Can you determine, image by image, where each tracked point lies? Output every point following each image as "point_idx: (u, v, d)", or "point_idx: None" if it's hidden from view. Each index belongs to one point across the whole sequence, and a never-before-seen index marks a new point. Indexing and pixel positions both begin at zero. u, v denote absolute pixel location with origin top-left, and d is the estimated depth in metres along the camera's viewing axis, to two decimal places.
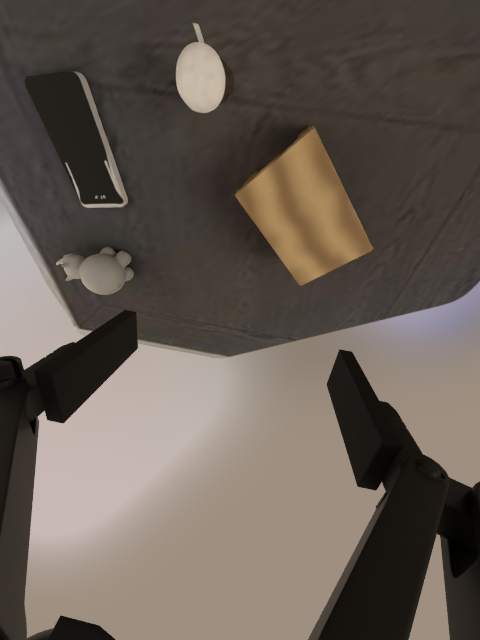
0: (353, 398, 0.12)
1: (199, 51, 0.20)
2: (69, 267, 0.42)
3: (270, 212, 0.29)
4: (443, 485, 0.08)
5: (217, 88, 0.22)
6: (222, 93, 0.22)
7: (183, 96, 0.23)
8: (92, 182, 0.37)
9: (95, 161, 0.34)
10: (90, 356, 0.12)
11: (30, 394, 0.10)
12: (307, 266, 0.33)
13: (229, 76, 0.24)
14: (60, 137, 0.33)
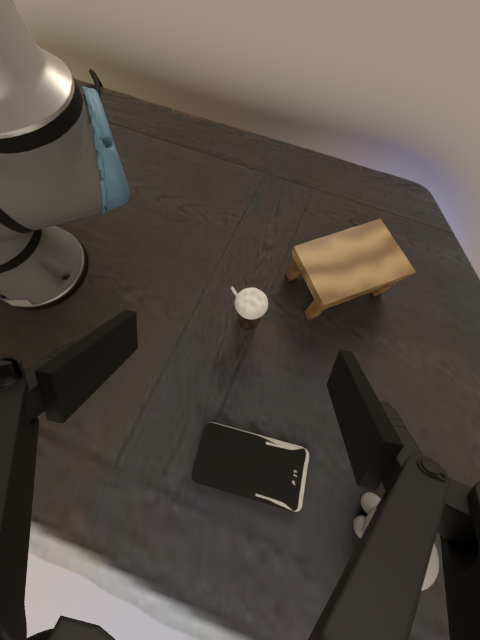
0: (353, 398, 0.12)
1: (240, 295, 0.33)
2: None
3: (341, 282, 0.35)
4: (443, 485, 0.08)
5: (259, 291, 0.33)
6: None
7: (256, 314, 0.32)
8: (279, 475, 0.33)
9: (263, 454, 0.34)
10: (90, 356, 0.12)
11: (30, 394, 0.10)
12: (393, 263, 0.36)
13: None
14: (236, 480, 0.33)
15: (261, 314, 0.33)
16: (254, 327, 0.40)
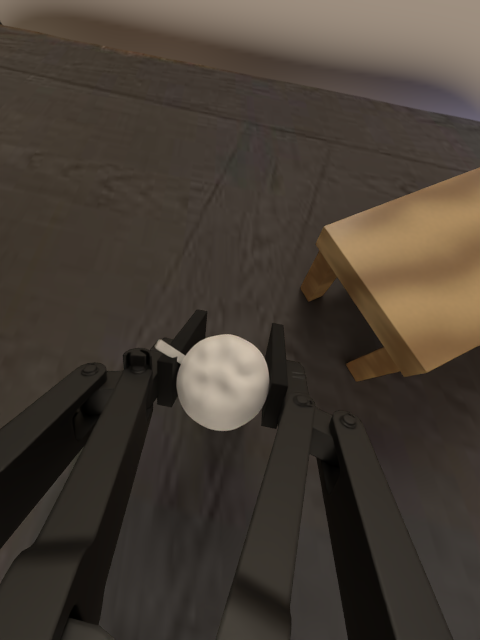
0: (270, 358, 0.14)
1: (190, 362, 0.12)
2: None
3: (456, 305, 0.14)
4: (311, 409, 0.10)
5: (243, 345, 0.12)
6: None
7: (235, 419, 0.11)
8: None
9: None
10: (186, 349, 0.13)
11: (152, 385, 0.11)
12: None
13: None
14: None
15: (252, 415, 0.11)
16: None
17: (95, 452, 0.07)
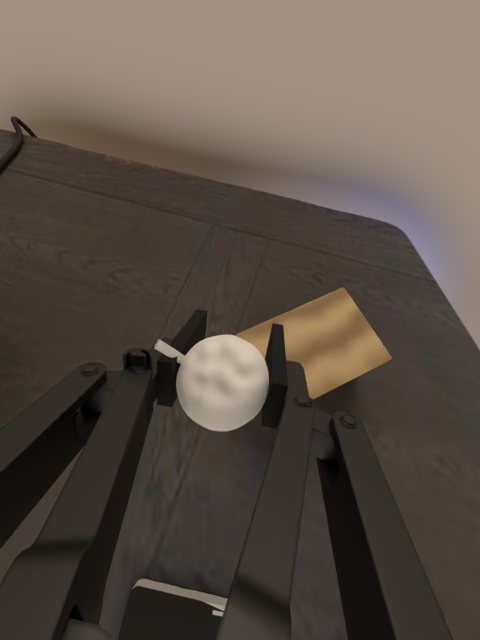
0: (270, 358, 0.14)
1: (189, 362, 0.12)
2: None
3: None
4: (311, 409, 0.10)
5: (242, 346, 0.12)
6: (250, 344, 0.12)
7: (234, 419, 0.11)
8: None
9: (209, 632, 0.24)
10: (186, 349, 0.13)
11: (152, 385, 0.11)
12: (363, 348, 0.28)
13: None
14: None
15: (251, 415, 0.11)
16: None
17: (95, 452, 0.07)
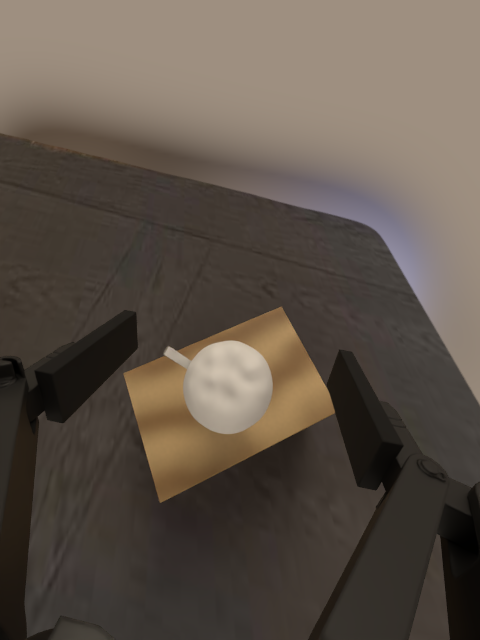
0: (353, 398, 0.12)
1: (196, 368, 0.12)
2: None
3: (200, 444, 0.19)
4: (443, 485, 0.08)
5: (247, 352, 0.12)
6: (255, 350, 0.13)
7: (240, 423, 0.11)
8: None
9: None
10: (90, 356, 0.12)
11: (30, 394, 0.10)
12: (299, 394, 0.20)
13: None
14: None
15: (256, 419, 0.12)
16: None
17: None
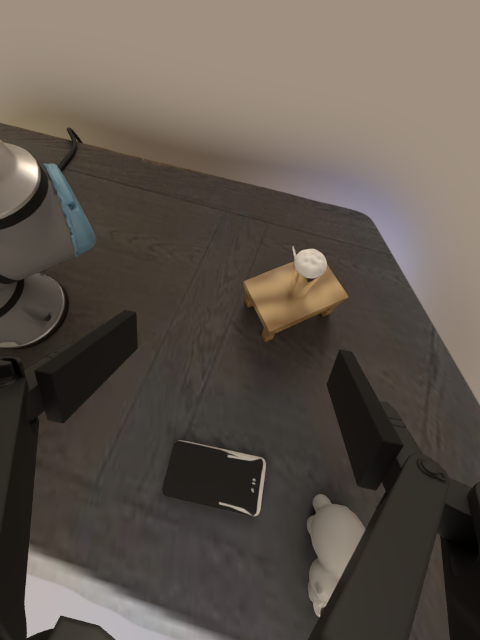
0: (353, 398, 0.12)
1: (299, 256, 0.34)
2: (323, 584, 0.29)
3: (284, 310, 0.40)
4: (443, 485, 0.08)
5: (317, 251, 0.34)
6: (319, 252, 0.34)
7: (317, 272, 0.33)
8: (240, 484, 0.37)
9: (225, 466, 0.38)
10: (90, 356, 0.12)
11: (30, 394, 0.10)
12: (329, 290, 0.42)
13: None
14: (201, 491, 0.37)
15: (322, 272, 0.33)
16: (304, 295, 0.41)
17: None
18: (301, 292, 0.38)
